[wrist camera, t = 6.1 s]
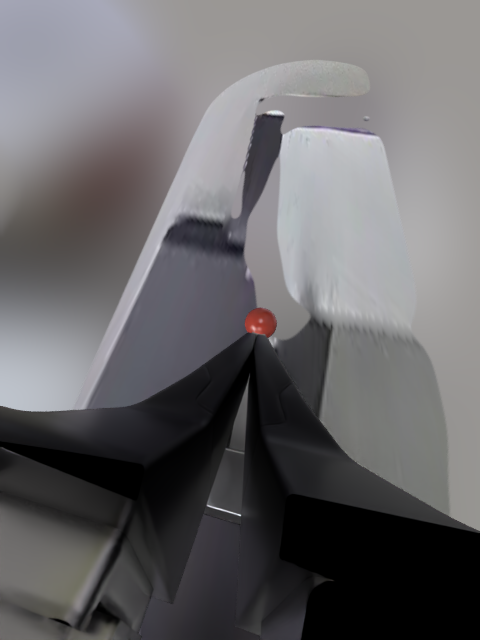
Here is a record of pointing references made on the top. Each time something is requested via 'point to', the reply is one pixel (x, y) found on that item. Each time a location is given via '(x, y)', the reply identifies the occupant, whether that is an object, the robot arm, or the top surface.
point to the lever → (238, 434)
